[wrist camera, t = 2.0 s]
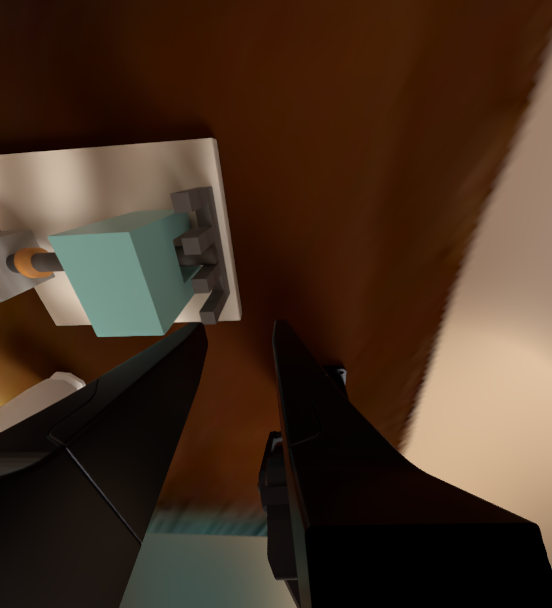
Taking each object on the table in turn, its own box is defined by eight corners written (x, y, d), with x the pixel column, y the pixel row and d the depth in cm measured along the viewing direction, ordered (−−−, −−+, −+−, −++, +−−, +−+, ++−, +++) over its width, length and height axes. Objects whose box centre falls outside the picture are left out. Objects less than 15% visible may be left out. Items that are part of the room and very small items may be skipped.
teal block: (186, 208, 18) (128, 232, 11) (203, 282, 21) (164, 335, 14) (133, 211, 18) (47, 236, 12) (156, 284, 21) (97, 336, 14)
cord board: (216, 139, 17) (184, 127, 12) (242, 313, 24) (229, 354, 19) (-23, 158, 18) (-149, 155, 13) (66, 318, 25) (7, 359, 20)
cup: (38, 353, 28) (-48, 418, 20) (128, 385, 29) (78, 454, 22) (37, 392, 31) (-38, 459, 24) (118, 418, 33) (71, 488, 25)
